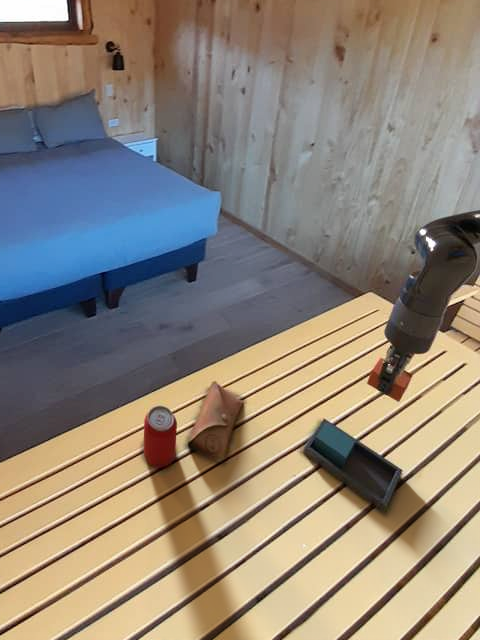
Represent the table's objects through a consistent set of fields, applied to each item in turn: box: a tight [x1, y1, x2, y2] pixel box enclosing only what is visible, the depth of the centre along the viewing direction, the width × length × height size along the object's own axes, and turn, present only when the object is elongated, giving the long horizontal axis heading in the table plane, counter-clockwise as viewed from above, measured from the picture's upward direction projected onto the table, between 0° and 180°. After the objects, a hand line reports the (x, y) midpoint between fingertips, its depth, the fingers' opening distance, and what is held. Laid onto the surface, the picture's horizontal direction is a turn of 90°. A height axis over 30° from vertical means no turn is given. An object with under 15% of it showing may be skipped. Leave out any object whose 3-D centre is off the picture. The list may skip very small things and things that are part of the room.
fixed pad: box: [313, 422, 355, 469], centre depth 85 cm, size 6×5×4 cm
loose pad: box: [366, 357, 414, 403], centre depth 83 cm, size 6×5×4 cm
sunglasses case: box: [187, 380, 244, 461], centre depth 92 cm, size 18×7×7 cm, turn 152°
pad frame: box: [302, 418, 404, 513], centre depth 83 cm, size 16×10×3 cm, turn 43°
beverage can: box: [143, 405, 178, 468], centre depth 84 cm, size 7×7×12 cm
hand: (387, 383), depth 83 cm, fingers closed on loose pad, 5 cm apart
